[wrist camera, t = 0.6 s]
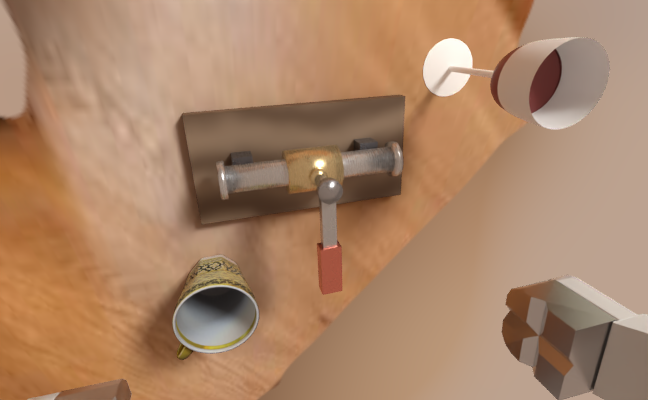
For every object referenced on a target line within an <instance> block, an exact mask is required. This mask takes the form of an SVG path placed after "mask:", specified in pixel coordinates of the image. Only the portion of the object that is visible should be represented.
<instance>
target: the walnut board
mask: <svg viewBox="0 0 648 400" xmlns="http://www.w3.org/2000/svg"><path fill="white" fill-rule="evenodd" d="M404 111H405V96H402V95H392V96H380V97H368V98H356V99H344V100H332V101H321V102H309V103H297V104H285V105H273V106H261V107H250V108H238V109H226V110H214V111H202V112H191V113H183V114H182V118H183V123H184V129H185V135H186V140H187V146H188V151H189V157H190V162H191V168H192V173H193V179H194V185H195V190H196V196H197V201H198V207H199V212H200V218H201V223H202V224H208V223H215V222H222V221H228V220H235V219H241V218H248V217H255V216H261V215H268V214H275V213H281V212H288V211H295V210H301V209H308V208H315V207H319V197H318V195H317V193H316V190H315V191H308V192H300V193H293V194H288V192H287V190H286V187H285V186H283V187H275V188H268V189H260V190H253V191H245V192H238V193H231V194H228V196H229V199H225V200H222V199H221V193H220V187H219V180H218V173H217V166H216V162H218V161H223V162H224V166H230V165H232V161H231V153H234V152H243V151H250V152H251V154H252V158H253V163H255V162H264V161H272V160H281V159H282V152H283V151H284V150H293V149H302V148H311V147H320V146H329V145H337V146H338V148H339V150H340V152H348V151H354V139H361V138H370V137H371V138H372V139H374V140H376V141H377V142H378V148H382V147H384V145H385V144H386V143H387V142H392V141H395V142H397V143H398V144H399V146H400V148H401V150H402V154H403V132H404ZM401 176H402V172H401V174H400V175H398V176H392V177H391V176H389V175H388V174H387V172H386V173H379V174H372V175H364V176H357V177H349V178H344V180H343V184H342V188H343V194H342V197H341V198H340V200H339V201H337V202H336V204H341V203H348V202H354V201H361V200H368V199H374V198H381V197H388V196H394V195H401Z"/></svg>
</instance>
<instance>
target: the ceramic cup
mask: <svg viewBox="0 0 648 400" xmlns="http://www.w3.org/2000/svg"><path fill="white" fill-rule="evenodd" d="M258 321H259V308H258V305H257V302H256V300H255V297H254V295H253V293H252V291H251V289H250V287H249V286H248V284H247V283H246V281H245V279H244V277H243V275H242V273H241V271H240V270H239V267H238V266H237V264H236V263H235V262H234V261H232V260H230V259H229V258H227V257H225V256H223V255H216V256H211V257H205V258H202V259H200V261H199V262H198V263H197V264H196V266H195V267H194V268H193V269H192V271H191V272H190V273H189V276H188V278H187V281H186V283H185V286H184V288H183V291H182V294H181V295H180V297H179V300H178V302H177V305H176V308H175V311H174V315H173V320H172V325H173V330H174V333H175V335H176V337H177V339H178V340H179V341H180V342H181V343H180V345H179V348H178V351H177V358H179V359H181V360H184V359H186V358H187V357H188V356H189V355H190V354H191V353H192V352H193V351H196V352H200V353H210V354H211V353H221V352H225V351H229V350H231V349H234V348H236V347H238V346H239V345H241V344H242V343H244V342H245V341H246V340H247V339H248V338H249V337H250V336H251V335H252V334H253V332H254V331H255V329H256V327H257V325H258Z"/></svg>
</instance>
